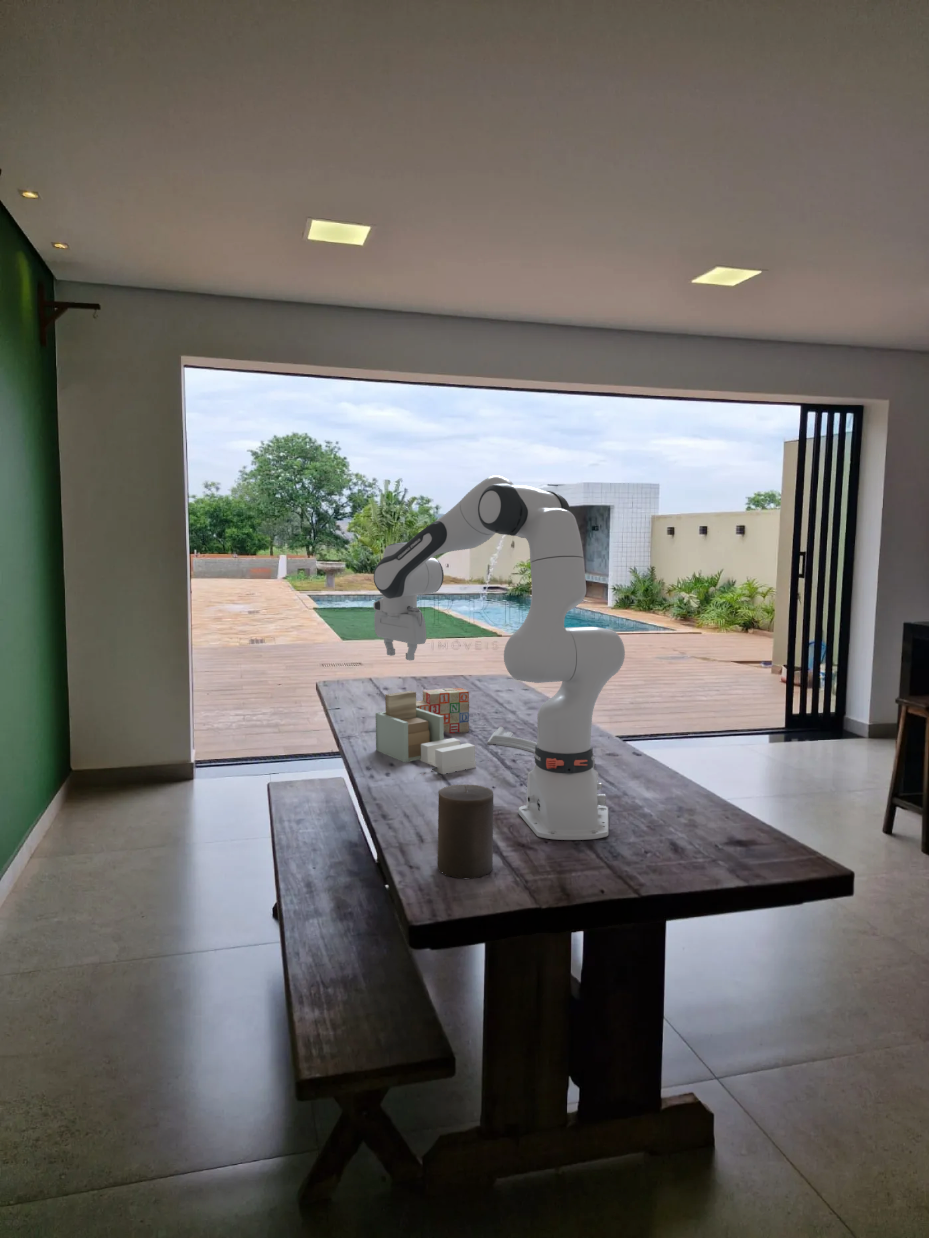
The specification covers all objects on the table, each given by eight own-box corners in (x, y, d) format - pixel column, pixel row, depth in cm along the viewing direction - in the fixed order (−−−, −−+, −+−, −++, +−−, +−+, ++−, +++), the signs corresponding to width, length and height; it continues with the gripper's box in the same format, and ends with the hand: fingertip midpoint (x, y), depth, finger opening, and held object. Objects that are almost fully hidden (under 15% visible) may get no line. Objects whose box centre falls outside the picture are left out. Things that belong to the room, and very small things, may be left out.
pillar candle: (458, 884, 137) (459, 797, 136) (426, 864, 145) (427, 782, 144) (504, 870, 143) (505, 786, 141) (471, 852, 151) (472, 773, 149)
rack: (443, 758, 212) (443, 716, 211) (404, 766, 205) (403, 722, 204) (414, 747, 224) (414, 707, 222) (376, 754, 216) (375, 712, 215)
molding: (605, 769, 205) (605, 757, 205) (568, 776, 199) (568, 764, 198) (504, 734, 240) (505, 724, 240) (470, 739, 234) (470, 729, 234)
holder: (475, 767, 205) (475, 745, 204) (443, 774, 199) (442, 752, 198) (452, 758, 213) (452, 737, 212) (420, 765, 207) (420, 743, 206)
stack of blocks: (399, 738, 233) (399, 696, 232) (393, 733, 239) (392, 692, 238) (469, 732, 241) (469, 690, 240) (461, 727, 247) (461, 686, 246)
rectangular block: (416, 747, 219) (416, 692, 217) (390, 752, 214) (390, 695, 213) (411, 745, 221) (411, 690, 219) (386, 750, 216) (385, 694, 214)
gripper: (432, 607, 207) (432, 661, 208) (390, 601, 223) (390, 651, 225) (411, 609, 203) (411, 664, 205) (369, 602, 220) (370, 653, 221)
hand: (400, 657), depth 215 cm, fingers open, 8 cm apart
